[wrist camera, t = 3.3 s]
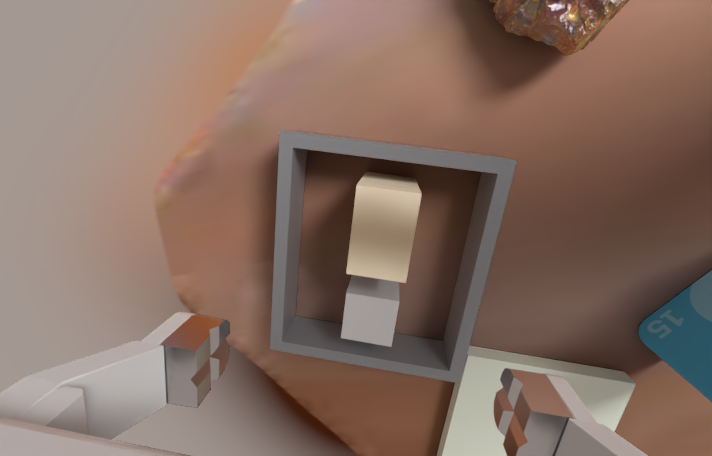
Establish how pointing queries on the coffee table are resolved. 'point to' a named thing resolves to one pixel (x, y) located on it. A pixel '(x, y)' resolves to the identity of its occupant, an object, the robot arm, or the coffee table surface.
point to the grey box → (370, 310)
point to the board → (482, 380)
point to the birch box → (383, 226)
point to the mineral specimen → (557, 20)
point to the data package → (685, 334)
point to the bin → (406, 350)
